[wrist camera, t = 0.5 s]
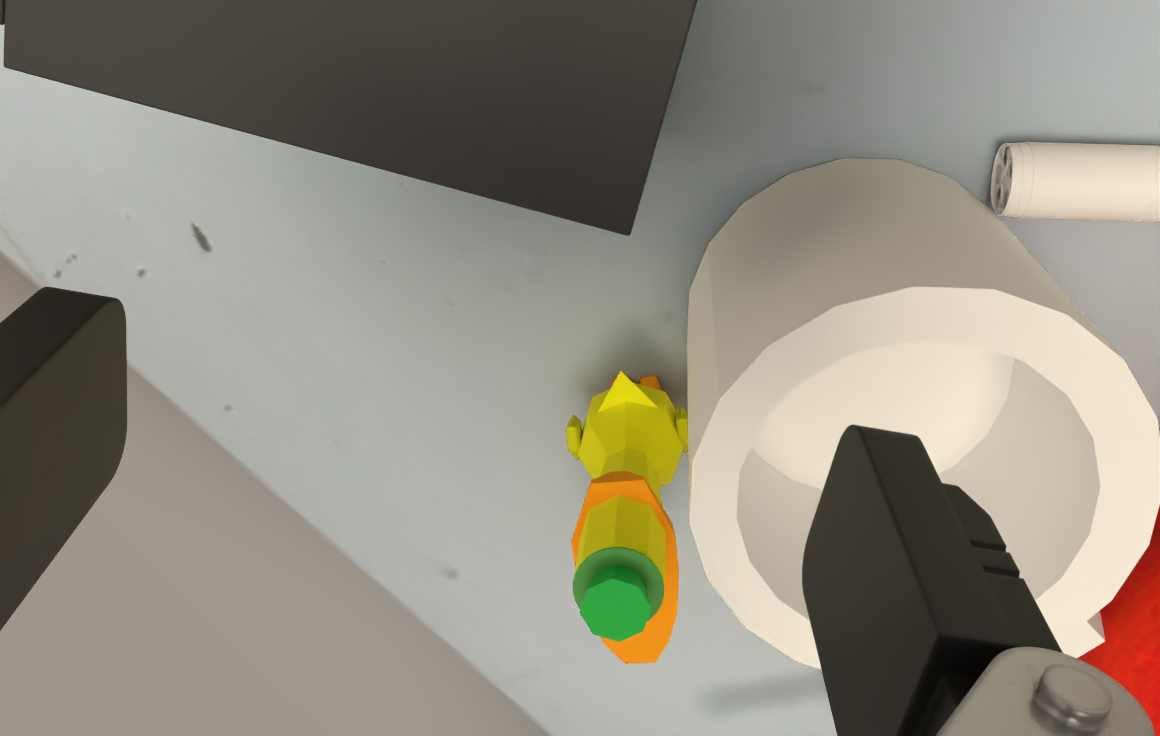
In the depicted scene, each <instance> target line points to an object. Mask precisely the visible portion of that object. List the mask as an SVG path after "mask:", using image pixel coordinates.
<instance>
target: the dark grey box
mask: <svg viewBox="0 0 1160 736" xmlns="http://www.w3.org/2000/svg"><path fill="white" fill-rule="evenodd" d="M696 4H697V0H5V34H4V67H6V68H9V69H13V70H16V71H20V72H24V73H27V74H31V75H35V76H38V77H42V78H46V79H50V80H53V81H57V82H61V83H64V84H68V85H72V86H75V87H79V88H83V89H87V90H90V91H94V92H98V93H101V94H105V95H109V96H112V97H116V98H120V99H124V100H127V101H131V102H135V103H138V104H142V105H146V106H149V107H153V108H157V109H161V110H164V111H168V112H172V113H175V114H179V115H183V116H186V117H190V118H194V119H198V120H201V121H205V122H209V123H212V124H216V125H220V126H223V127H227V128H231V129H235V130H238V131H242V132H246V133H249V134H253V135H257V136H260V137H264V138H268V139H272V140H275V141H279V142H283V143H286V144H290V145H294V146H297V147H301V148H305V149H309V150H312V151H316V152H320V153H323V154H327V155H331V156H334V157H338V158H342V159H346V160H349V161H353V162H357V163H360V164H364V165H368V166H371V167H375V168H379V169H383V170H386V171H390V172H394V173H397V174H401V175H405V176H408V177H412V178H416V179H420V180H423V181H427V182H431V183H434V184H438V185H442V186H445V187H449V188H453V189H457V190H460V191H464V192H468V193H471V194H475V195H479V196H482V197H486V198H490V199H494V200H497V201H501V202H505V203H508V204H512V205H516V206H519V207H523V208H527V209H531V210H534V211H538V212H542V213H545V214H549V215H553V216H556V217H560V218H564V219H568V220H571V221H575V222H579V223H582V224H586V225H590V226H593V227H597V228H601V229H605V230H608V231H612V232H616V233H619V234H623V235H627V236H628V235H630V234H631V231H632V227H633V224H634V220H635V217H636V213H637V210H638V206H639V203H640V199H641V196H642V192H643V189H644V185H645V182H646V178H647V175H648V171H649V168H650V164H651V161H652V157H653V154H654V150H655V147H656V143H657V140H658V136H659V133H660V129H661V126H662V122H663V119H664V115H665V112H666V108H667V105H668V101H669V98H670V95H671V91H672V88H673V84H674V81H675V77H676V74H677V70H678V67H679V63H680V60H681V56H682V53H683V49H684V46H685V42H686V39H687V35H688V32H689V28H690V25H691V21H692V18H693V14H694V11H695V7H696Z"/></svg>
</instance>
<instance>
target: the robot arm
mask: <svg viewBox="0 0 1160 736" xmlns="http://www.w3.org/2000/svg"><path fill="white" fill-rule="evenodd" d="M126 433H127V360H126V317H125V311H124V307H123V305H122V303H121V302H120V300H118V299H117V298H112V297H106V296H100V295H94V294H88V293H82V292H76V291H70V290H64V289H58V288H53V287H44V288H42V289H40V290H39V291H37V292H36V293H35V294H34V295H33V296H32V297H31V298H29V299H28V300H27V301H26V302H25V303H23V304H22V305H21V306H20V307H19V308H18V309H16V311H14V312H13V313H12V314H10V315H9V316H8V317H7V318H6V319H5V320H3V321H2V322H1V323H0V630H1V629H2V628H3V626H4V625H5V624H6V622H7V621H8V619H9V618H10V617H11V615H12V614H13V613H14V611H15V610H16V608H17V607H18V606H19V605H20V603H21V602H22V601H23V599H24V598H25V597H26V595H27V594H28V593H29V591H30V590H31V588H32V587H33V586H34V584H35V583H36V582H37V580H38V579H39V577H40V576H41V575H42V573H43V572H44V571H45V569H46V568H47V567H48V565H49V564H50V563H51V561H52V560H53V559H54V557H55V556H56V555H57V553H58V552H59V551H60V549H61V548H62V546H63V545H64V544H65V542H66V541H67V540H68V538H69V537H70V536H71V534H72V533H73V531H74V530H75V529H76V528H77V526H78V525H79V523H80V522H81V521H82V519H83V518H84V517H85V515H86V514H87V513H88V511H89V510H90V509H91V507H92V506H93V504H94V503H95V502H96V500H97V499H98V497H99V496H100V495H101V494H102V492H103V491H104V489H105V488H106V487H107V486H108V484H109V483H110V481H111V480H112V478H113V477H114V475H115V473H116V470H117V468H118V466H119V463H120V460H121V457H122V454H123V450H124V445H125V440H126ZM1006 547H1007V546H1006V545H1005V543H1004V541H1003V539H1002V537H1001V535H1000V533H999V531H998V529H997V528H996V526H995V524H994V522H993V520H992V518H991V516H990V515H989V514H988V513H987V512H986V511H985V510H984V509H983V508H981V507H980V506H979V505H978V504H977V503H976V502H975V501H974V500H973V499H972V498H971V497H970V496H968V495H967V494H966V493H965V492H964V491H963V490H962V489H961V488H960V487H959V486H957V485H951V484H945V483H942V482H941V480H940V478H939V476H938V474H937V472H936V470H935V468H934V466H933V464H932V461H931V459H930V457H929V455H928V453H927V451H926V449H925V447H924V445H923V443H922V441H921V439H920V438H919V437H918V436H917V435H912V434H907V433H901V432H895V431H889V430H883V429H877V428H871V427H865V426H859V425H853V424H852V425H850V426H848V427H847V428H846V429H845V431H844V432H843V434H842V436H841V438H840V441H839V443H838V446H837V449H836V452H835V455H834V458H833V461H832V464H831V467H830V470H829V473H828V476H827V479H826V482H825V485H824V488H823V491H822V494H821V497H820V500H819V503H818V506H817V510H816V513H815V516H814V519H813V522H812V525H811V528H810V531H809V534H808V537H807V541H806V545H805V550H804V556H803V564H802V588H803V594H804V599H805V603H806V607H807V611H808V615H809V619H810V624H811V628H812V632H813V636H814V640H815V644H816V648H817V653H818V657H819V661H820V665H821V669H822V673H823V678H824V682H825V686H826V690H827V694H828V698H829V702H830V707H831V711H832V715H833V719H834V723H835V727H836V732H837V736H1155V731H1154V728H1153V725H1152V722H1151V720H1150V719H1149V717H1148V715H1147V713H1146V712H1145V710H1144V709H1143V707H1142V706H1141V705H1140V703H1139V702H1138V701H1137V700H1136V699H1135V698H1134V697H1133V696H1132V695H1131V694H1130V693H1129V692H1128V691H1127V690H1126V689H1125V688H1124V687H1123V686H1121V685H1120V684H1119V683H1118V682H1117V681H1115V680H1114V679H1112V678H1111V677H1110V676H1108V675H1107V674H1105V673H1104V672H1102V671H1100V670H1099V669H1097V668H1095V667H1094V666H1092V665H1090V664H1088V663H1086V662H1084V661H1082V660H1080V659H1077V658H1075V657H1072V656H1069V655H1067V654H1064V653H1063V652H1062V650H1061V649H1060V647H1059V645H1058V643H1057V641H1056V639H1055V637H1054V635H1053V633H1052V631H1051V630H1050V628H1049V626H1048V624H1047V622H1046V620H1045V618H1044V616H1043V614H1042V613H1041V611H1040V609H1039V607H1038V605H1037V603H1036V601H1035V599H1034V597H1033V596H1032V594H1031V592H1030V590H1029V588H1028V586H1027V584H1026V582H1025V580H1024V579H1023V578H1019V574H1020V571H1019V569H1018V567H1017V565H1016V563H1015V562H1014V560H1013V558H1012V556H1011V554H1010V553H1009V552H1006Z"/></svg>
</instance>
